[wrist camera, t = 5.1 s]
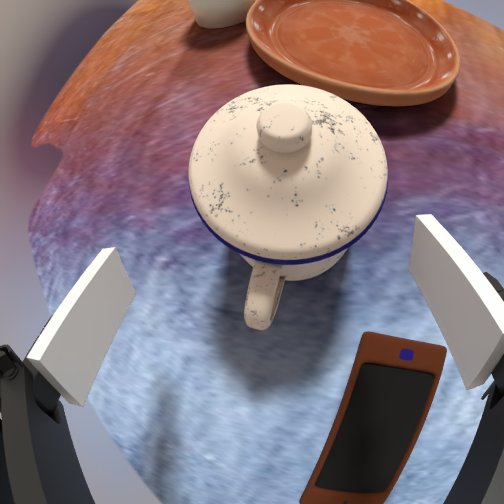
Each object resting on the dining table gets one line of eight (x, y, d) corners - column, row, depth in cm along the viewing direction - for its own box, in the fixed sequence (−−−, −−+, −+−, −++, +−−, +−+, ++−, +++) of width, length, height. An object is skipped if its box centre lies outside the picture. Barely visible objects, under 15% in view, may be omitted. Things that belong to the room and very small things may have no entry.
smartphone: (450, 347, 16) (379, 513, 14) (444, 346, 17) (377, 507, 15) (364, 330, 18) (297, 506, 15) (361, 329, 19) (297, 500, 16)
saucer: (484, 113, 20) (499, 93, 16) (281, 136, 22) (278, 108, 19) (390, 0, 25) (393, -19, 22) (235, 11, 28) (229, -9, 24)
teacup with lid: (247, 156, 22) (206, 41, 11) (362, 177, 20) (405, 65, 9) (204, 307, 20) (102, 297, 9) (332, 339, 18) (378, 374, 7)
